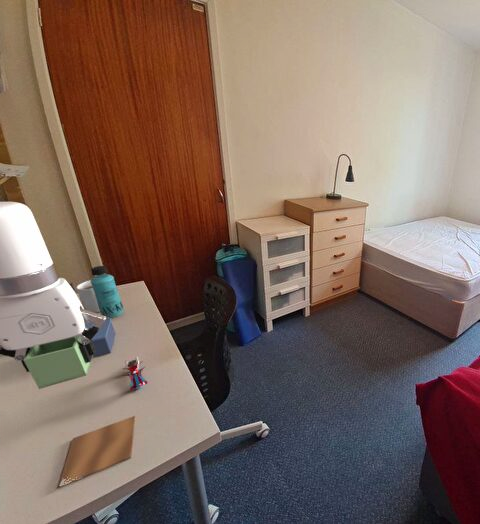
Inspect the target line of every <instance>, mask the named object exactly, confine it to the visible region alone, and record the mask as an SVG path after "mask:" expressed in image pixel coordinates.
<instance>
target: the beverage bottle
mask: <svg viewBox="0 0 480 524" xmlns="http://www.w3.org/2000/svg"><path fill="white" fill-rule="evenodd" d="M90 271H91V275H92V276H93V277H92V278H91V279H90V280H91V281H90V280H89V281H90V282H91V284H92V287H93V290H94V293H95V297H96V299H97V302H98V303H97V304H98V306H99V309H100V312H99V313H100V315H103V316H106V317H107V319H108V318H111V319H112V318H115V317H117V316H120V315H122V314H123V313H124V305H123V302H122V300H121V296H120V293H119V291H118V290H119V289H118V288H117V285H116V281H115V277H114V276H113V275H111V274H109V273H108V272H109V270H108V269H107V266H105V265H98V266H94V267H91V269H90Z"/></svg>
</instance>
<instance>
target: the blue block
mask: <svg viewBox="0 0 480 524" xmlns="http://www.w3.org/2000/svg"><path fill="white" fill-rule="evenodd" d="M84 324H85V328H87V329H89V328H90V327H91V326H92V325H93V324H94V323H93V322H91V321H89V322H86V323H84ZM115 338H116V331H115V328H114V325H113V323H112V317H111V318H107V319H106V322H105V323H104V324H103V326H102V327H101V328H100V329H99V330H98V332H97V333H96V335H95V336H94V337H93V338H92V342H93V344H94V347H95V350H96V353H95V354H94V355H93V357H92V359H93V358H98V357H101V356H105V355H108V354H109V355H110V354H111V353H112V350H113V345H114V342H115Z"/></svg>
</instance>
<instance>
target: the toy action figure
mask: <svg viewBox="0 0 480 524" xmlns="http://www.w3.org/2000/svg"><path fill="white" fill-rule="evenodd" d="M142 362H144V361H143V360H142V361H140V360H139V357H138V356H135V359H132V360H129V361H128V360H125V361H124V364H125V368H124V370H127V371H129V372H130V373H127V374H123V375H122V376H123V377H129V378H130V379H129V380H130V385H129V391H130V392H131V391H133V390H135V389H136V390H140V389H142V388H143V387H144V385H148V384H149V383H148V380H147V379H145V378H144V376H143V375H142V371H143V370H144V369H145V368H146V366H144V367H142V368H140V367H139V366H140V365H141V364H142Z"/></svg>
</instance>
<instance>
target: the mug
mask: <svg viewBox="0 0 480 524" xmlns="http://www.w3.org/2000/svg"><path fill="white" fill-rule="evenodd" d="M91 280H92V279H90V280H86V281H84V282H81V283H79V284H78V285H77V286H76V291H77V294H78V296H79V300H80V302H81V304H82V306H83V308H84V309H85V310H88V311H91V312H94V313H101V312H100V309H99V306H98V304H97V303H98V302H97V299H96V297H95V293H94V290H93V287H92V284H91V282H90V281H91Z"/></svg>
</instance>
